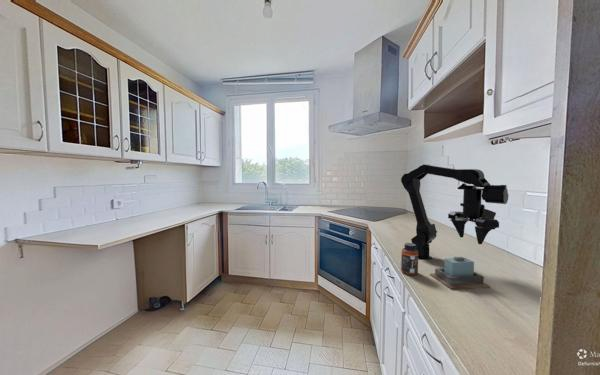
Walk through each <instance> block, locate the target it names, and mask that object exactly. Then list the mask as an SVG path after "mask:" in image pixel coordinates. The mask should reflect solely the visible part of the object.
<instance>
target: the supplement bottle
mask: <svg viewBox="0 0 600 375" xmlns="http://www.w3.org/2000/svg"><path fill="white" fill-rule="evenodd" d="M400 270H401V273H402V274H405V275H408V276H417V274H418V273H419V259H418V251H417V250H416V245H415V244H413V243H412V242H405V243H404V247H403V248H402V249H401V262H400Z"/></svg>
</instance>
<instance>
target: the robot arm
mask: <svg viewBox="0 0 600 375" xmlns="http://www.w3.org/2000/svg"><path fill="white" fill-rule="evenodd" d="M427 175H433V176H439V177H444V178H449V179H454V180H457V181H458V182H461V183H462V184H461V185H459V186H458V187H457V190H463V198H462V202H460V203H459V204H460V207H462V211H450V212H449V213H447V215H448V216H447V218H448V219H449V220H450V221H451V223H452V225H453V227H454V228H455V230H456V232H457V233H458V236H459V237H460V238H464V235H465V228H466V227H465V226H466V224H467V223H468V222H472V223H474V225H475V226H474V231H475V236H476V241H477V243H478V245H482V244H483V243H484V240H486V237H487V235H488V234H489V232H490V231H492V230H496V229H498V228H499V229H500V222H499V220H497V219H495V217H496V215H497V212H495V211H492V210H489V209H488V208H485V207H486V206H485V204H482V201H484V202H485V203H489V204H498V205H499V204H500V205H506V204H508V201H509V192H508V191H509V190H508V186H507V184H500V185H496V184H495V185H494V184H491V183H490V182H489V181H488V180H487V179H486V178H485V174H484V172H483V171H482V170H481V169H478V168H477V169H476V168H473V169H472V168H471V169H470V168H468V169H467V168H465V169H463V168H462V169H458V168H457V169H456V168H450V167H441V166H436V165H430V164H421V165H419V166H418V167H417V168H414V169H413V170H411V171H409V172H408V173H404V174H403V175H402V176H401V178H400V182H401V185H402V186H403V189H405V190H406V192H407V193H408V196H409V199H410V203H411V206H412V207H411V208H412V210H413V213H414V216H415V220H416V225H415V226H416V229H415V233H416V235H415V236H413V237H412V238H411V240H410V241H411V243H413V244H415V245H416V250H417V251H418V260H422V259H423V260H424V259H433V257H432V256H431V255H430V244H431V243H432V242H433V241H434V240H436V238H437V233H438V231H437V228H436V225H435V223H432V222H430V220H429V219H428V215H427V211H426V208H425V205H424V201H423V198H422V194H421V190H420V189H421V180H423V179H424V178H425V177H426V176H427Z"/></svg>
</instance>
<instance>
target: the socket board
mask: <svg viewBox="0 0 600 375" xmlns="http://www.w3.org/2000/svg"><path fill="white" fill-rule="evenodd" d="M429 276H431V277H432V278H434V280H436V281H438V282H439V283H440V284H442V285H443V286H445V287H446V288H448V289H450V290H467V289H469V290H470V289H484V288H485V289H486V288H487V289H488V288H491V285H490V284H487V283H485V282H484V279H485V276H483V275H481V274H479V273H478V272H475V271H474V276H461V277H451V276H449V275H448V274H446V273H444V267H443V268H435V272H434V273H429Z"/></svg>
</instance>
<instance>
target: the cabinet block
mask: <svg viewBox="0 0 600 375" xmlns="http://www.w3.org/2000/svg"><path fill="white" fill-rule="evenodd" d="M443 262H444V265H443V266H444V267H443V268H444V273H446V274H448V275H449V276H451V277H461V276H474V272H475V261H473V260H471V259H468V258H466V257H463V256H454V257H453V258H452V257H451V258H444V261H443Z"/></svg>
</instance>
